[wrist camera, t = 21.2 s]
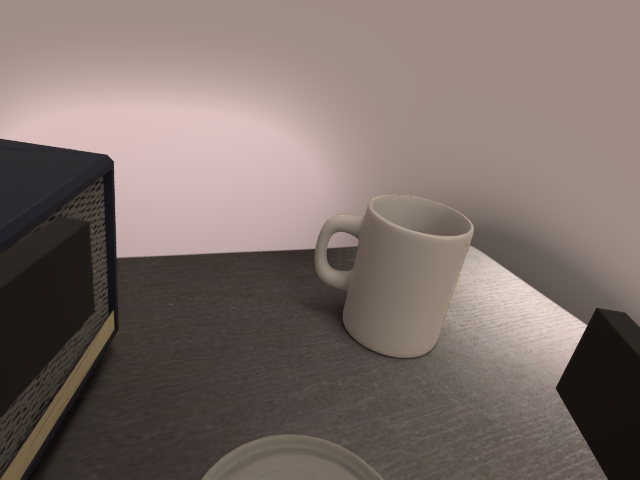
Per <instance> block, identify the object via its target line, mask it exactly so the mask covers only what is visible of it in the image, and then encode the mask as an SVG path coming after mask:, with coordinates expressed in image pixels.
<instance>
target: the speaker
mask: <svg viewBox="0 0 640 480" xmlns="http://www.w3.org/2000/svg"><path fill="white" fill-rule="evenodd" d="M59 216H61V217H67V218H73V219H79V220H84V221H90V237H91V253H92V269H93V285H94V301H95V312H94V313H93V314H92V315H91V316H90V318H89V319H88V320H87V321H86V322H85V323H84V324H83V325H82V327H81V328H80V329H79V330H78V331H77V332H76V333H75V334H74V336H73V337H72V338H71V339H70V340H69V341H68V342H67V343H66V344H65V346H64V347H63V348H62V349H61V350H60V351H59V352H58V353H57V355H56V356H55V357H54V358H53V359H52V360H51V361H50V362H49V364H48V365H47V366H46V367H45V368H44V369H43V370H42V371H41V372H40V374H39V375H38V376H37V377H36V378H35V379H34V380H33V381H32V383H31V384H30V385H29V386H28V387H27V388H26V389H25V390H24V392H23V393H22V394H21V395H20V396H19V397H18V398H17V399H16V401H15V402H14V403H13V404H12V405H11V406H10V407H9V408H8V409H7V411H6V412H5V413H4V414H3V415H2V416H1V417H0V480H28V478H29V476H30V475H31V473H32V471H33V470H34V468H35V466H36V465H37V463H38V461H39V460H40V458H41V456H42V455H43V453H44V452H45V450H46V448H47V447H48V445H49V443H50V442H51V440H52V438H53V437H54V435H55V433H56V432H57V430H58V428H59V427H60V425H61V423H62V422H63V420H64V419H65V417H66V415H67V414H68V412H69V410H70V409H71V407H72V405H73V404H74V402H75V400H76V399H77V397H78V395H79V394H80V392H81V391H82V389H83V387H84V386H85V384H86V382H87V381H88V379H89V377H90V376H91V374H92V372H93V371H94V369H95V367H96V366H97V364H98V362H99V361H100V359H101V358H102V356H103V354H104V353H105V351H106V349H107V348H108V346H109V344H110V343H111V341H112V339H113V338H114V336H115V334H116V333H117V331H118V329H119V324H118V290H117V256H116V222H115V189H114V161H113V160H112V159H111V158H110V157H109V156H108V155H104V154H97V153H91V152H85V151H77V150H72V149H65V148H58V147H51V146H44V145H37V144H31V143H25V142H18V141H11V140H5V139H0V255H1V254H2V253H4V252H5V251H7V250H8V249H10V248H11V247H13V246H14V245H16V244H18V243H19V242H21V241H22V240H24V239H25V238H27V237H28V236H30V235H31V234H33V233H34V232H36V231H37V230H39V229H41V228H42V227H44V226H45V225H47V224H48V223H50V222H51V221H53V220H54V219H56V218H57V217H59Z"/></svg>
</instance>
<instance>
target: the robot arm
mask: <svg viewBox="0 0 640 480" xmlns="http://www.w3.org/2000/svg"><path fill="white" fill-rule="evenodd" d="M94 312H95V301H94V285H93V269H92V253H91V237H90V221H84V220H79V219H73V218H67V217H61V216H59V217H57V218H56V219H54V220H53V221H51V222H50V223H48V224H47V225H45V226H44V227H42V228H41V229H39V230H37V231H36V232H34V233H33V234H31V235H30V236H28V237H27V238H25V239H24V240H22V241H21V242H19V243H18V244H16V245H14V246H13V247H11V248H10V249H8V250H7V251H5V252H4V253H2V254H1V255H0V417H1V416H2V415H3V414H4V413H5V412H6V411H7V409H8V408H9V407H10V406H11V405H12V404H13V403H14V402H15V401H16V399H17V398H18V397H19V396H20V395H21V394H22V393H23V392H24V390H25V389H26V388H27V387H28V386H29V385H30V384H31V383H32V381H33V380H34V379H35V378H36V377H37V376H38V375H39V374H40V372H41V371H42V370H43V369H44V368H45V367H46V366H47V365H48V364H49V362H50V361H51V360H52V359H53V358H54V357H55V356H56V355H57V353H58V352H59V351H60V350H61V349H62V348H63V347H64V346H65V344H66V343H67V342H68V341H69V340H70V339H71V338H72V337H73V336H74V334H75V333H76V332H77V331H78V330H79V329H80V328H81V327H82V325H83V324H84V323H85V322H86V321H87V320H88V319H89V318H90V316H91V315H92V314H93V313H94ZM556 390H557V392H558V393H559V395H560V397H561V399H562V400H563V402H564V404H565V406H566V407H567V409H568V411H569V412H570V414H571V416H572V418H573V419H574V421H575V423H576V425H577V426H578V428H579V430H580V432H581V433H582V435H583V437H584V439H585V440H586V442H587V444H588V446H589V447H590V449H591V451H592V453H593V454H594V456H595V458H596V460H597V461H598V463H599V465H600V466H601V468H602V470H603V472H604V473H605V475H606V477H607V479H608V480H640V327H639V326H638V325H637V324H636V323H635V322H634V321H633V320H632V319H631V318H630V317H629V316H628V315H627V314H626V313H623V312H618V311H612V310H605V309H600V308H596V310H595V312H594V314H593V316H592V318H591V320H590V322H589V324H588V326H587V328H586V330H585V332H584V333H583V335H582V337H581V339H580V341H579V343H578V345H577V347H576V349H575V351H574V353H573V355H572V357H571V359H570V361H569V363H568V365H567V367H566V369H565V371H564V373H563V375H562V377H561V379H560V381H559V383H558V385H557V387H556Z"/></svg>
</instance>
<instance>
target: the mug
mask: <svg viewBox="0 0 640 480" xmlns="http://www.w3.org/2000/svg"><path fill="white" fill-rule="evenodd" d="M336 232H346V233H349V234H351V235H353V236H355V237H356V238H358V240H359V244H358V249H357V254H356V259H355V263H354V267H353V269H352V270H351V271H338V270H335V269H333V268H332V267H330V265H329V264H328V261H327V256H326V251H327V245H328V242H329V239H330V238H331V236H332V235H333V234H334V233H336ZM473 232H474V231H473V225H472V223H471V222H470V220H469V219H467V218H466V217H465V216H464V215H462V214H461V213H459V212H458V211H456V210H454V209H452V208H450V207H448V206H445V205H443V204H440V203H437V202H434V201H431V200H427V199H423V198H419V197H413V196H407V195H382V196H378V197H375V198H373V199H372V200H371V201H370V202H369V204H368V207H367V210H366V214H365V216H359V215H351V214H337V215H334V216H332V217H331V218H329V219H328V220H327V221H326V222H325V224H324V225H323V227H322V229H321V231H320V234H319V236H318V240H317V244H316V249H315V269H316V272H317V275H318V277H319V278H320V279H321V280H322V281H323V282H324V283H326V284H328V285H330V286H332V287H335V288H337V289H340V290H343V291H346V292H347V297H346V301H345V305H344V310H343V323H344V325H345V328H346V330H347V331H348V333H349V334H350V335H351V336H352V337H353V338H354V339H355V340H356V341H357V342H359V343H360V344H361V345H363V346H364V347H366V348H368V349H370V350H372V351H374V352H377V353H380V354H383V355H386V356H390V357H396V358H413V357H418V356H422V355H424V354H426V353H428V352H429V351H430V350H432V349H433V347H434V346H435V344H436V343H437V340H438V337H439V335H440V332H441V328H442V325H443V322H444V318H445V315H446V312H447V309H448V306H449V303H450V300H451V297H452V294H453V292H454V289H455V286H456V283H457V280H458V277H459V274H460V271H461V268H462V265H463V262H464V259H465V256H466V254H467V251H468V248H469V245H470V242H471V239H472V236H473Z"/></svg>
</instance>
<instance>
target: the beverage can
mask: <svg viewBox="0 0 640 480" xmlns="http://www.w3.org/2000/svg"><path fill="white" fill-rule="evenodd" d="M201 480H383V478H382V477H381V476H380V475H379V474H378V473H377V472H376V471H375V470H374V469H373V468H372V467H371V466H370V465H369V464H368V463H366V462H365V461H364V460H363V459H361V458H360V457H358V456H357V455H356V454H354V453H353V452H351V451H349V450H347V449H345V448H344V447H341V446H339V445H337V444H335V443H332V442H330V441H327V440H324V439H321V438H316V437H312V436H306V435H294V434H285V435H274V436H269V437H264V438H260V439H257V440H254V441H251V442H248V443H246V444H244V445H242V446H240V447H238V448H236V449H234V450H232V451H231V452H229V453H228V454H227V455H225V456H224V457H223V458H221V459H220V460H219V461H217V462H216V463H215V464H214V465H213V466H212V467H211V468H210V469H209V471H208V472H207V473H206V474H205V475H204V476H203V478H202V479H201Z"/></svg>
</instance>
